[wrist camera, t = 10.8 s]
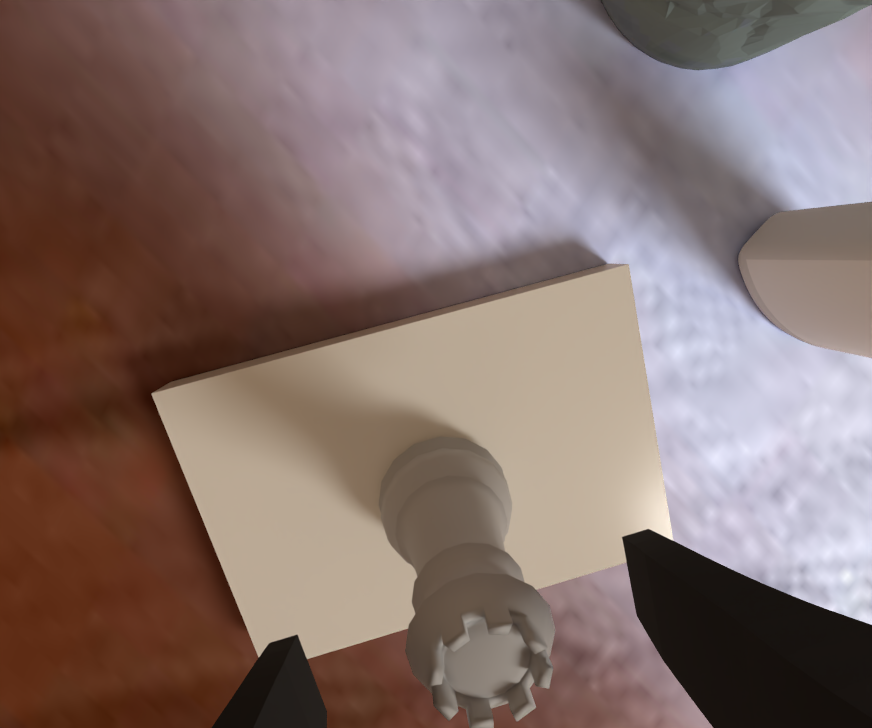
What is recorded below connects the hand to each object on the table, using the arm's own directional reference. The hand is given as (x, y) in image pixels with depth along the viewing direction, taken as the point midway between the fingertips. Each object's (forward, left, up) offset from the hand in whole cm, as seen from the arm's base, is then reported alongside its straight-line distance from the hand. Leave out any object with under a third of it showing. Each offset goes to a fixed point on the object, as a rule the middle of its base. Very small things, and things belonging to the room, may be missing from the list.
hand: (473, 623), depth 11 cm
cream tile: (0, 0, -9) cm, 9 cm away
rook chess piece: (0, 0, -7) cm, 7 cm away
